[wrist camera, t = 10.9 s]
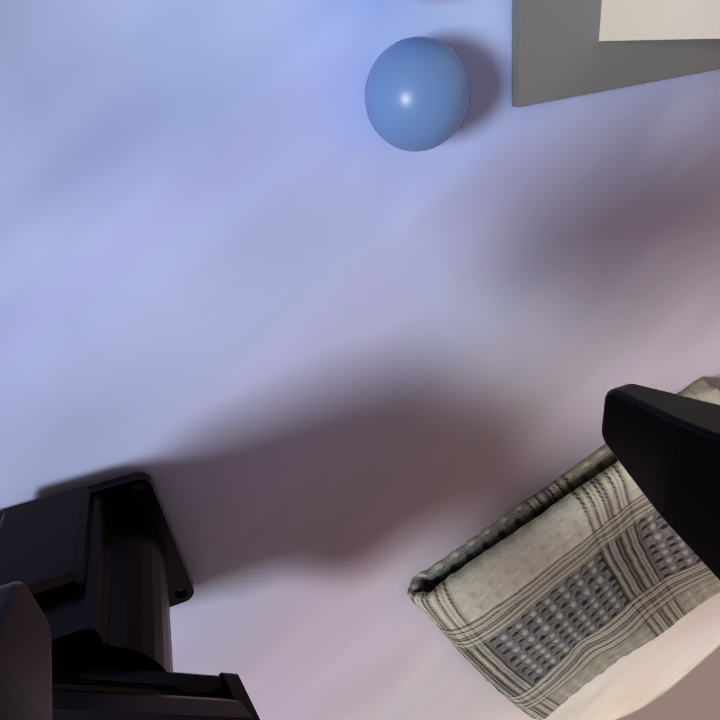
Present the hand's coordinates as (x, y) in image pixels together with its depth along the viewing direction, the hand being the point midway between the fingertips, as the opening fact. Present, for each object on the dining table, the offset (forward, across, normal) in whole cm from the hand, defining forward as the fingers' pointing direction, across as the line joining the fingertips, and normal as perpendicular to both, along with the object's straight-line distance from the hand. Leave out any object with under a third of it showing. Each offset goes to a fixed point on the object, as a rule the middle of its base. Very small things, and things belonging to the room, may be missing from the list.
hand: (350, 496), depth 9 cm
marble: (+12, -6, -4) cm, 14 cm away
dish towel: (+13, -16, +22) cm, 30 cm away
